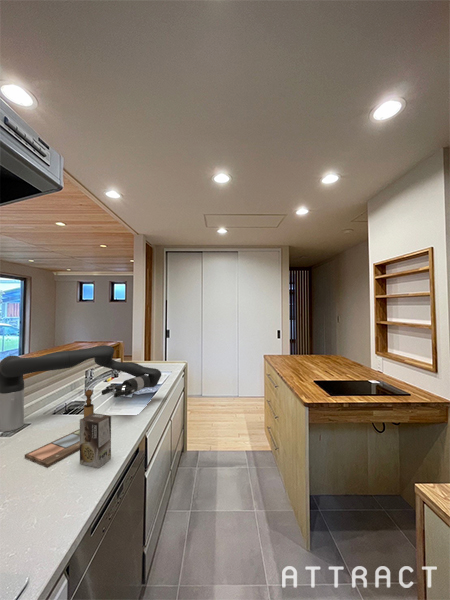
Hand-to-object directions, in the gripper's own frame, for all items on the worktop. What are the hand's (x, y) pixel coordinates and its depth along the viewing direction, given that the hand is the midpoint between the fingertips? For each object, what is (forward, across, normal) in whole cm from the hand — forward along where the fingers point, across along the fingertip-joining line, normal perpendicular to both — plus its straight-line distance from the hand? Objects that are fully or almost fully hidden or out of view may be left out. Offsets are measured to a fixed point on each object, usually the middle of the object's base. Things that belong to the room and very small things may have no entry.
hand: (108, 394), depth 128 cm
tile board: (+20, +2, +14) cm, 25 cm away
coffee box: (+24, +21, +15) cm, 35 cm away
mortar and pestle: (+11, +1, +13) cm, 17 cm away
